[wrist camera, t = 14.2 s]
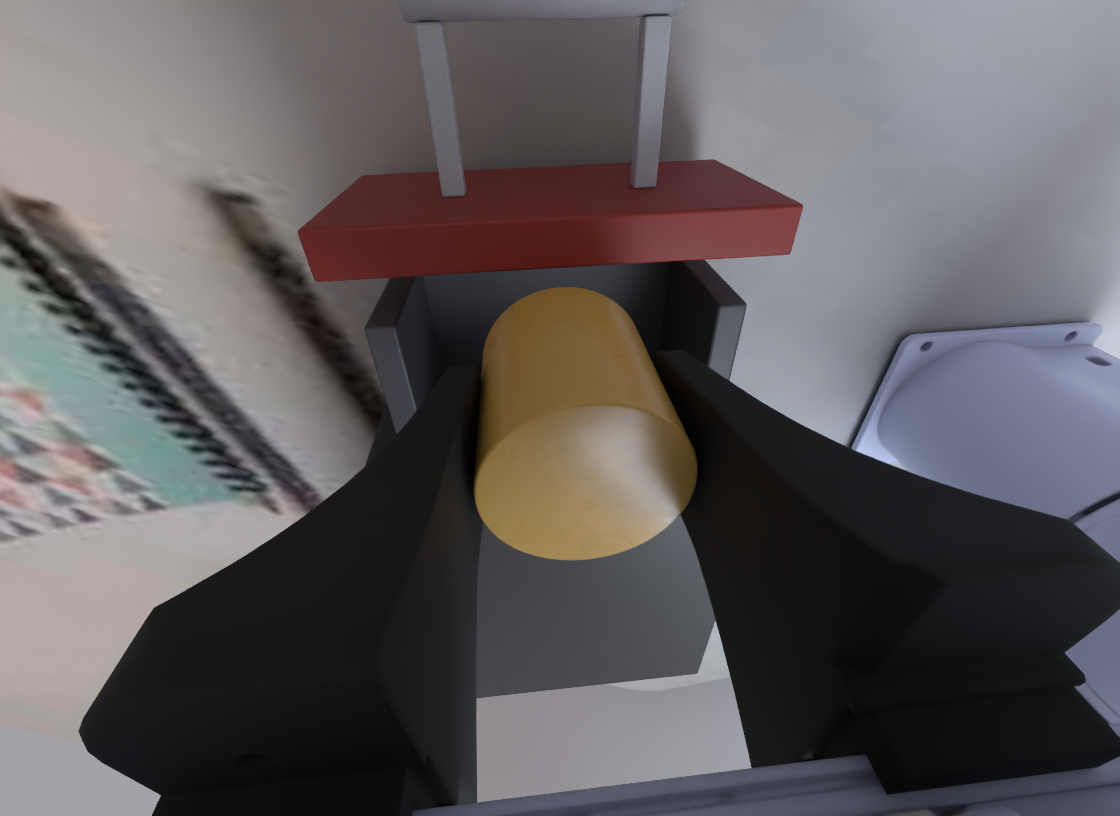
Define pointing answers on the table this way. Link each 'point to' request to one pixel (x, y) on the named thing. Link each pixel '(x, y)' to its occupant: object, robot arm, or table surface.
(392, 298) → the drawer
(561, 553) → the yellow wooden cylinder
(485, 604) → the dark grey box
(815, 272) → the table surface
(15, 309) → the table surface
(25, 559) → the table surface
